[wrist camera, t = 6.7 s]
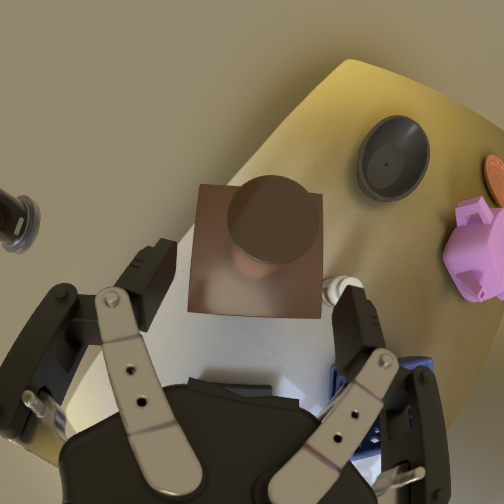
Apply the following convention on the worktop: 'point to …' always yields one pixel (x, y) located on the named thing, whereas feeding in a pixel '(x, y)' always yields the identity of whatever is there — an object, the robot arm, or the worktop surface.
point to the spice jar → (270, 224)
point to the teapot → (477, 250)
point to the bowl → (393, 159)
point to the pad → (248, 389)
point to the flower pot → (366, 444)
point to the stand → (240, 284)
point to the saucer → (495, 178)
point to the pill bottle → (336, 288)
